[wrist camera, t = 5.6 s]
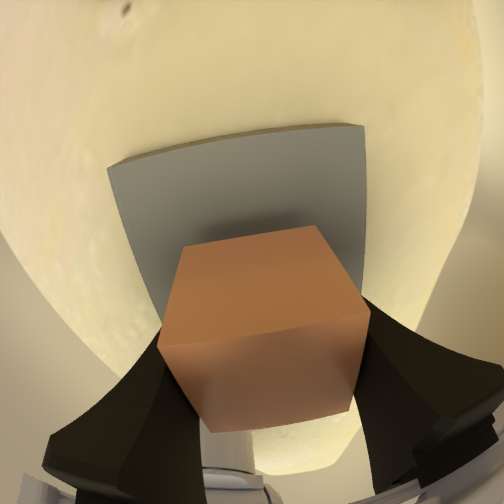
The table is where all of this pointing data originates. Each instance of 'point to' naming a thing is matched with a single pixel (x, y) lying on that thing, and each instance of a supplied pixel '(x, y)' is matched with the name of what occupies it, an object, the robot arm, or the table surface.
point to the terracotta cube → (264, 330)
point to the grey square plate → (243, 195)
